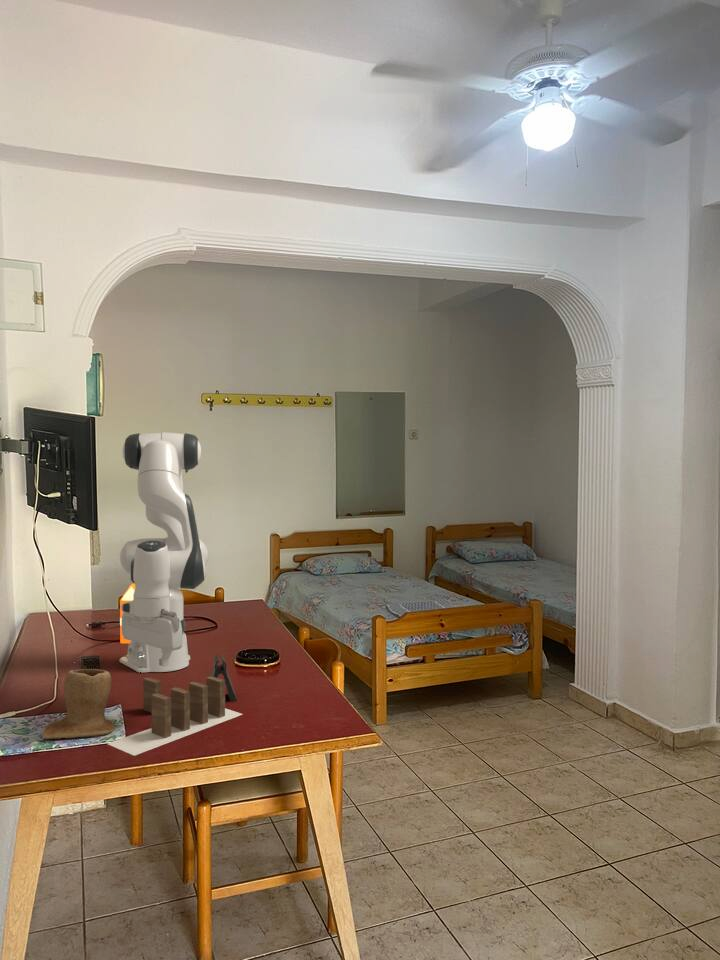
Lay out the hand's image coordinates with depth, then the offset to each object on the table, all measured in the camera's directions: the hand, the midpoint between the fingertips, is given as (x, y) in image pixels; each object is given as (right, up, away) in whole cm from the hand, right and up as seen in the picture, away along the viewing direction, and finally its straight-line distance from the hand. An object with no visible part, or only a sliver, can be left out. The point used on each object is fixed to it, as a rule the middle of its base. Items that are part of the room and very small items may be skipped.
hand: (151, 662), depth 190 cm
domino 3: (+9, -13, -9) cm, 19 cm away
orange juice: (-25, -10, +71) cm, 75 cm away
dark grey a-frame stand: (+15, -13, +11) cm, 23 cm away
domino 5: (+16, -13, -1) cm, 20 cm away
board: (+9, -14, -10) cm, 19 cm away
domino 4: (+13, -13, -5) cm, 19 cm away
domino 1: (0, -14, +1) cm, 14 cm away
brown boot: (-14, -14, -11) cm, 23 cm away
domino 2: (+6, -13, -14) cm, 20 cm away
